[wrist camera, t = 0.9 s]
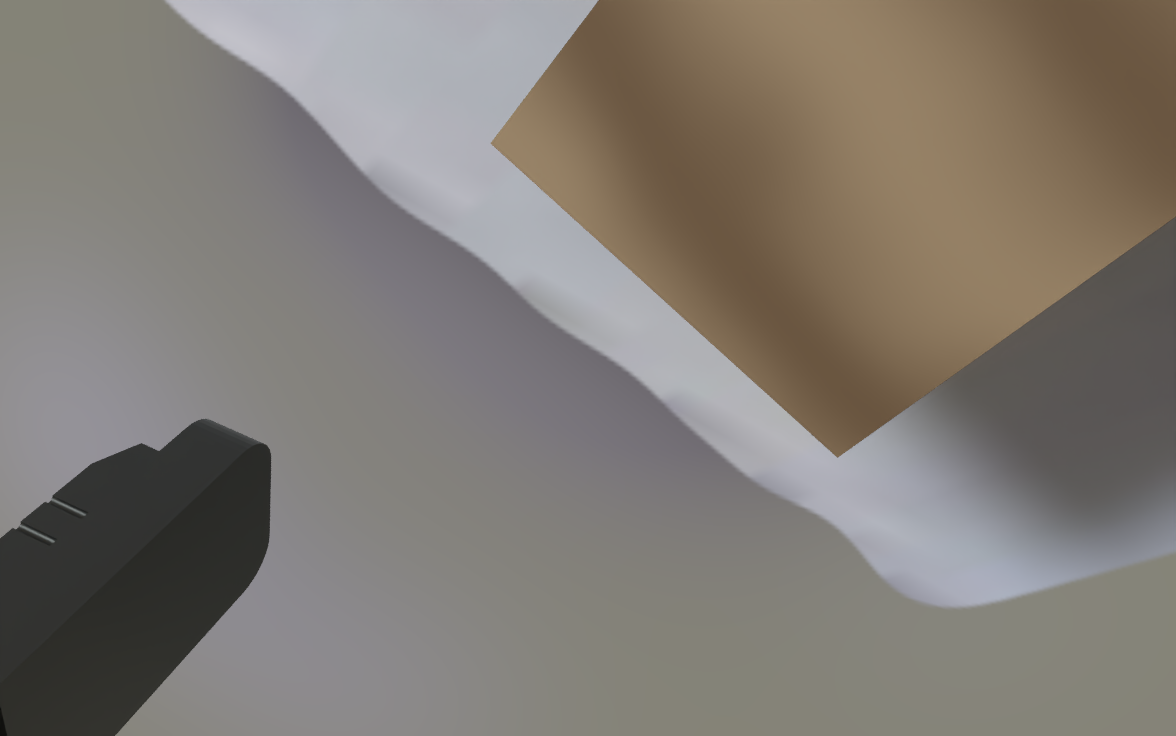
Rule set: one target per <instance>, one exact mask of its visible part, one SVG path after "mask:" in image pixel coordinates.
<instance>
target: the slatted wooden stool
mask: <svg viewBox="0 0 1176 736" xmlns="http://www.w3.org/2000/svg"><path fill="white" fill-rule="evenodd" d="M491 144H492V145H493V146H494V147H495V148H496V149H497V150H498V151H500V152H501V153H502V154H503V155H504V156H505V157H506V158H507V159H508V160H509V161H511V162H512V163H513V164H514V165H515V166H516V167H517V168H518V169H519V170H520V171H522V172H523V173H524V174H525V175H526V176H527V177H528V178H529V179H530V180H532V181H533V182H534V183H535V184H536V185H537V186H538V187H539V188H540V189H541V190H543V191H544V192H545V193H546V194H547V195H548V196H549V197H550V198H551V199H553V200H554V201H555V202H556V203H557V204H558V205H559V206H560V207H561V208H562V209H564V210H565V211H566V212H567V213H568V214H569V215H570V216H571V217H572V218H573V219H575V220H576V221H577V222H578V223H579V224H580V225H581V226H582V227H583V228H585V229H586V230H587V231H588V232H589V233H590V234H591V235H592V236H593V237H594V238H596V239H597V240H598V241H599V242H600V243H601V244H602V245H603V246H604V247H605V248H607V249H608V250H609V251H610V252H611V253H612V254H613V255H614V256H615V257H617V258H618V259H619V260H620V261H621V262H622V263H623V264H624V265H625V266H626V267H628V268H629V269H630V270H631V271H632V272H633V273H634V274H635V275H636V276H638V277H639V278H640V279H641V280H642V281H643V282H644V283H645V284H646V285H647V286H649V287H650V288H651V289H652V290H653V291H654V292H655V293H656V294H657V295H658V296H660V297H661V298H662V299H663V300H664V301H665V302H666V303H667V304H668V305H670V306H671V307H672V308H673V309H674V310H675V311H676V312H677V313H678V314H679V315H681V316H682V317H683V318H684V319H685V320H686V321H687V322H688V323H689V324H690V325H692V326H693V327H694V328H695V329H696V330H697V331H698V332H699V333H700V334H702V335H703V336H704V337H705V338H706V339H707V340H708V341H709V342H710V343H711V344H713V345H714V346H715V347H716V348H717V349H718V350H719V351H720V352H721V353H723V354H724V355H725V356H726V357H727V358H728V359H729V360H730V361H731V362H732V363H734V364H735V365H736V366H737V367H738V368H739V369H740V370H741V371H742V372H743V373H745V374H746V375H747V376H748V377H749V378H750V379H751V380H752V381H753V382H755V383H756V384H757V385H758V386H759V387H760V388H761V389H762V390H763V391H764V392H766V393H767V394H768V395H769V396H770V397H771V398H772V399H773V400H774V401H775V402H777V403H778V404H779V405H780V406H781V407H782V408H783V409H784V410H785V411H787V412H788V413H789V414H790V415H791V416H792V417H793V418H794V419H795V420H796V421H798V422H799V423H800V424H801V425H802V426H803V427H804V428H805V429H806V430H808V431H809V432H810V433H811V434H812V435H813V436H814V437H815V438H816V439H817V440H819V441H820V442H821V443H822V444H823V445H824V446H825V447H826V448H827V449H828V450H830V451H831V452H832V453H833V454H834V455H835V456H836V457H837V458H838V457H839V456H841V455H842V454H843V453H845V452H846V451H848V450H849V449H850V448H852V447H853V446H855V445H856V444H857V443H859V442H860V441H862V440H863V439H864V438H866V437H867V436H869V435H870V434H871V433H873V432H874V431H876V430H877V429H878V428H880V427H881V426H883V425H884V424H885V423H887V422H888V421H890V420H891V419H892V418H894V417H895V416H897V415H898V414H899V413H901V412H902V411H904V410H905V409H906V408H908V407H909V406H911V405H912V404H914V403H915V402H916V401H918V400H919V399H921V398H922V397H923V396H925V395H926V394H928V393H929V392H930V391H932V390H933V389H935V388H936V387H937V386H939V385H940V384H942V383H943V382H944V381H946V380H947V379H949V378H950V377H951V376H953V375H954V374H956V373H957V372H958V371H960V370H961V369H963V368H964V367H965V366H967V365H968V364H970V363H971V362H972V361H974V360H975V359H977V358H978V357H979V356H981V355H982V354H984V353H985V352H986V351H988V350H989V349H991V348H992V347H993V346H995V345H996V344H998V343H999V342H1001V341H1002V340H1003V339H1005V338H1006V337H1008V336H1009V335H1010V334H1012V333H1013V332H1015V331H1016V330H1017V329H1019V328H1020V327H1022V326H1023V325H1024V324H1026V323H1027V322H1029V321H1030V320H1031V319H1033V318H1034V317H1036V316H1037V315H1038V314H1040V313H1041V312H1043V311H1044V310H1045V309H1047V308H1048V307H1050V306H1051V305H1052V304H1054V303H1055V302H1057V301H1058V300H1059V299H1061V298H1062V297H1064V296H1065V295H1066V294H1068V293H1069V292H1071V291H1072V290H1073V289H1075V288H1076V287H1078V286H1079V285H1081V284H1082V283H1083V282H1085V281H1086V280H1088V279H1089V278H1090V277H1092V276H1093V275H1095V274H1096V273H1097V272H1099V271H1100V270H1102V269H1103V268H1104V267H1106V266H1107V265H1109V264H1110V263H1111V262H1113V261H1114V260H1116V259H1117V258H1118V257H1120V256H1121V255H1123V254H1124V253H1125V252H1127V251H1128V250H1130V249H1131V248H1132V247H1134V246H1135V245H1137V244H1138V243H1139V242H1141V241H1142V240H1144V239H1145V238H1146V237H1148V236H1149V235H1151V234H1152V233H1153V232H1155V231H1156V230H1158V229H1159V228H1161V227H1162V226H1163V225H1165V224H1166V223H1168V222H1169V221H1170V220H1172V219H1173V218H1175V217H1176V0H599V1H598V2H597V3H596V5H595V6H594V7H593V9H592V10H591V11H590V13H589V14H588V15H587V17H586V18H585V19H584V21H583V22H582V23H581V25H580V26H579V27H578V29H577V30H576V31H575V33H574V34H573V35H572V37H571V38H570V39H569V41H568V42H567V43H566V44H565V46H564V47H563V48H562V50H561V51H560V52H559V54H558V55H557V56H556V58H555V59H554V60H553V62H552V63H551V64H550V66H549V67H548V68H547V70H546V71H545V72H544V74H543V75H542V76H541V78H540V79H539V80H538V81H537V83H536V84H535V85H534V87H533V88H532V89H531V91H530V92H529V93H528V95H527V96H526V97H525V99H524V100H523V101H522V103H521V104H520V105H519V107H518V108H517V109H516V111H515V112H514V113H513V115H512V116H511V117H510V118H509V120H508V121H507V122H506V124H505V125H504V126H503V128H502V129H501V130H500V132H499V133H498V134H497V136H496V137H495V138H494V140H493V141H492V142H491Z"/></svg>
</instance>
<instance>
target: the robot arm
mask: <svg viewBox="0 0 1176 736" xmlns="http://www.w3.org/2000/svg"><path fill="white" fill-rule="evenodd" d="M270 487H271V453H270V450H269V448H268V446H267V445H265V444H263V443H261V442H258V441H256V440H254V439H252V438H249V437H247V436H245V435H243V434H241V433H238V432H236V431H234V430H232V429H229V428H227V427H225V426H223V425H220V424H218V423H216V422H214V421H211V420H208V419H201V420H198V421H196V422H194V423H192V424H191V425H190V426H188V427H187V428H186V429H185V430H183V431H182V432H181V433H180V434H179V435H178V436H177V437H175V438H174V439H173V440H172V441H171V442H169V443H168V444H167V445H166V446H165V447H164V448H163V449H161V450H160V451H157V450H155V449H153V448H150V447H148V446H146V445H144V444H142V443H141V444H139V445H136V446H133V447H131V448H129V449H126V450H124V451H121V452H119V453H116V454H114V455H112V456H109V457H107V458H105V459H102V460H100V461H97V462H95V463H92V464H91V465H89V466H88V467H87V468H86V469H85V470H83V471H82V472H81V473H80V474H78V475H77V476H76V477H75V478H74V479H73V480H71V481H70V482H69V483H67V484H66V485H65V486H64V487H63V488H61V489H60V490H59V491H58V492H56V493H55V494H54V495H53V497H52V500H51V501H50V502H49V503H46V502H44V503H43V504H42V505H40V506H39V507H38V508H37V509H36V510H34V511H33V512H32V513H31V514H29V515H28V516H27V517H26V518H25V519H23V520H22V521H21V524H20V526H19V528H17V529H14V528H13V529H11V530H10V531H9V532H7V533H6V534H5V535H4V536H3V537H1V538H0V736H115V735H116V734H117V733H118V732H119V731H120V729H121V728H122V727H123V726H124V725H125V724H126V723H127V722H128V721H129V719H130V718H131V717H132V716H133V715H134V714H135V713H136V712H137V710H138V709H139V708H140V707H141V706H142V705H143V704H144V703H145V702H146V701H147V699H148V698H149V697H150V696H151V695H152V694H153V693H154V692H155V690H156V689H157V688H158V687H159V686H160V685H161V684H162V683H163V681H164V680H165V679H166V678H167V677H168V676H169V675H170V674H171V673H172V671H173V670H174V669H175V668H176V667H177V666H178V665H179V664H180V663H181V661H182V660H183V659H184V658H185V657H186V656H187V655H188V654H189V653H190V651H191V650H192V649H193V648H194V647H195V646H196V645H197V644H198V642H199V641H200V640H201V639H202V638H203V637H204V636H205V635H206V633H207V632H208V631H209V630H210V629H211V628H212V627H213V626H214V625H215V623H216V622H217V621H218V620H219V619H220V618H221V617H222V616H223V615H224V613H225V612H226V611H227V610H228V609H229V608H230V607H231V606H232V604H233V603H234V602H235V601H236V600H237V599H238V598H239V597H240V596H241V595H242V593H243V592H244V591H245V590H246V588H247V587H248V586H249V584H250V583H251V582H252V580H253V579H254V577H255V576H256V574H257V572H258V570H259V568H260V566H261V564H262V562H263V559H264V557H265V554H266V551H267V548H268V543H269V533H270V489H271V488H270Z"/></svg>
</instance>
